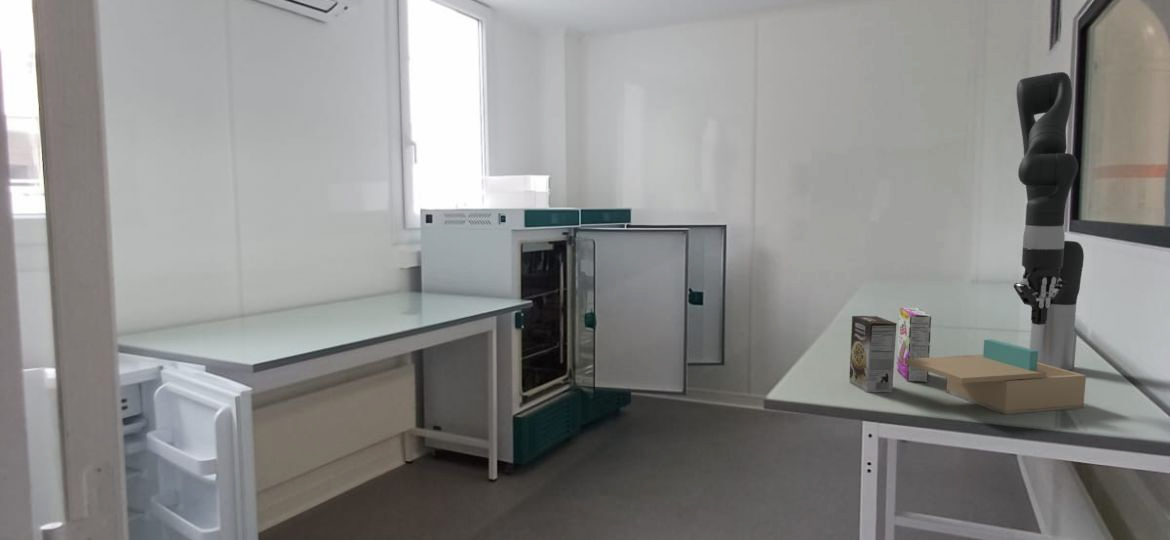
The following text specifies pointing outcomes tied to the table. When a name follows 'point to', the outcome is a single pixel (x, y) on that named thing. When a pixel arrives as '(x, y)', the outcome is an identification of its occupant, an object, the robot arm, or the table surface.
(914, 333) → the candy bar box
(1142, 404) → the table surface
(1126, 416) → the table surface
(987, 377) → the lid
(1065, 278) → the robot arm
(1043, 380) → the mailer box
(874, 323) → the brown upright rectangular box
